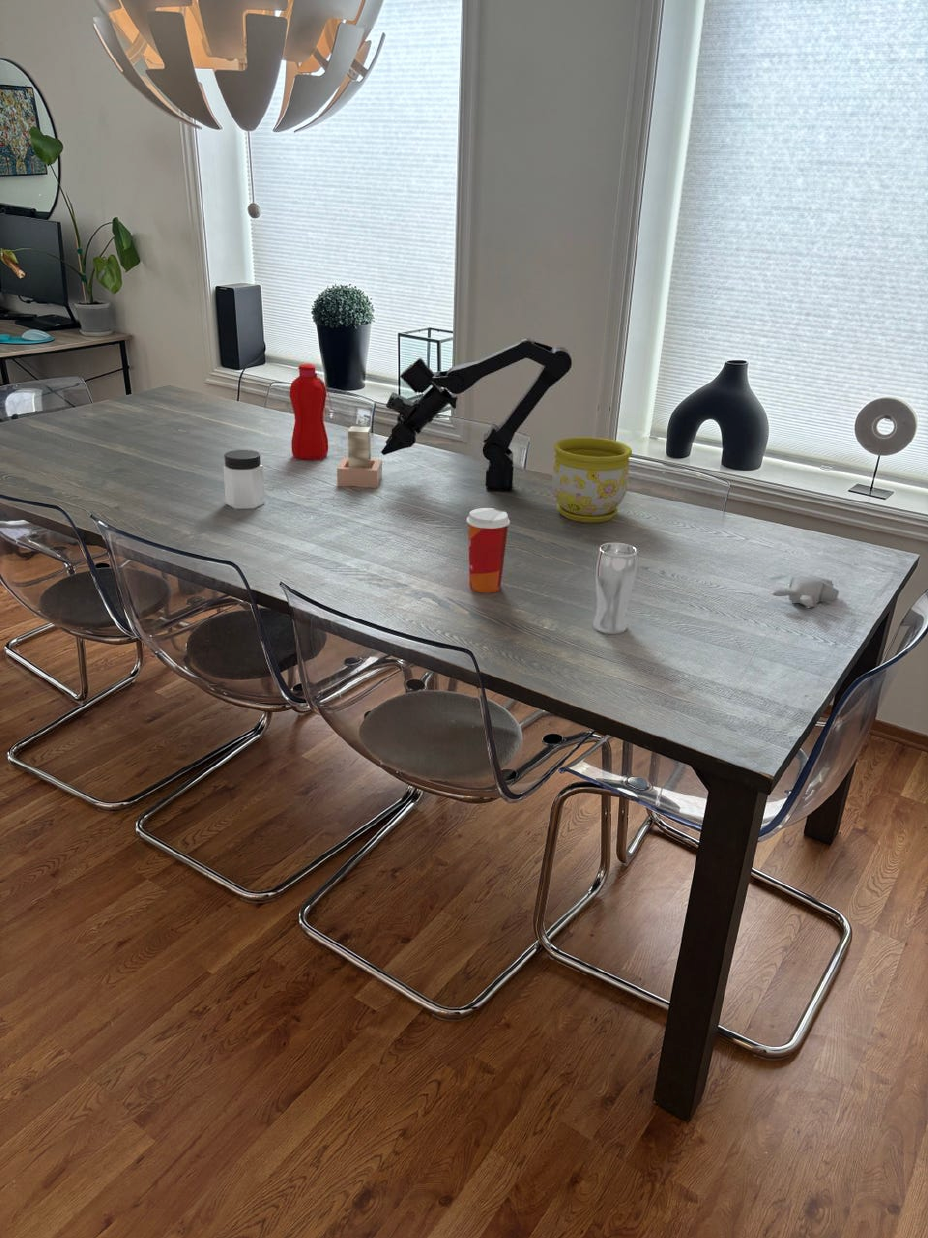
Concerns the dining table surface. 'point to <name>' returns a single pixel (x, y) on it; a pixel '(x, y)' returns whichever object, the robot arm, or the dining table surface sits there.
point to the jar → (243, 479)
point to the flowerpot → (590, 477)
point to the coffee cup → (486, 548)
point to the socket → (359, 474)
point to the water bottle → (308, 415)
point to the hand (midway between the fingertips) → (384, 448)
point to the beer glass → (614, 586)
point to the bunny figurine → (809, 590)
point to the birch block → (359, 447)
